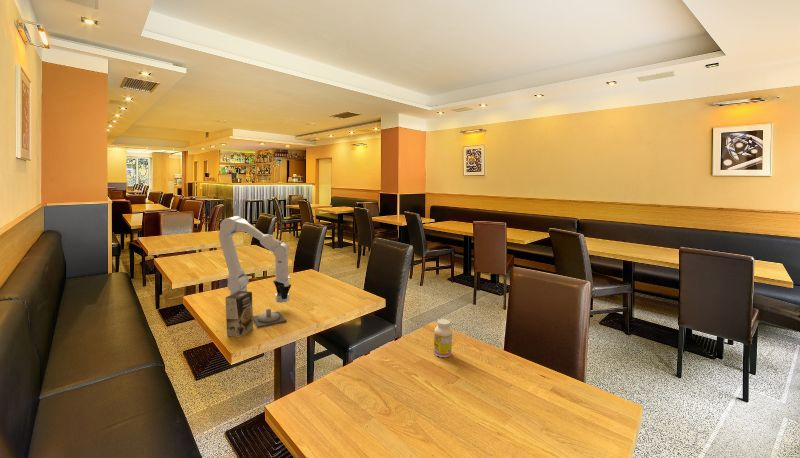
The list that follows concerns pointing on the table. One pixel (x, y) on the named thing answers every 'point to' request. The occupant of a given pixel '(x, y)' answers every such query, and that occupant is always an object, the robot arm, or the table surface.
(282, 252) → the robot arm
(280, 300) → the grey metal ring
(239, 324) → the coffee box
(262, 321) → the hub
